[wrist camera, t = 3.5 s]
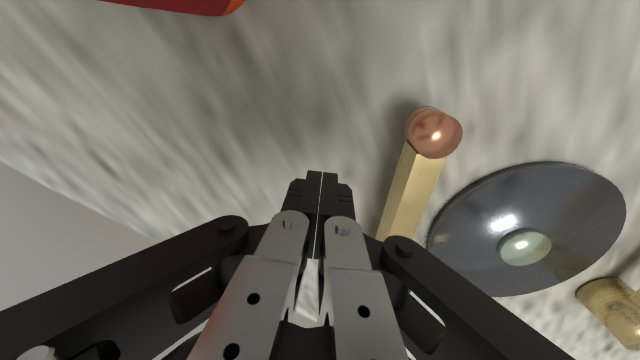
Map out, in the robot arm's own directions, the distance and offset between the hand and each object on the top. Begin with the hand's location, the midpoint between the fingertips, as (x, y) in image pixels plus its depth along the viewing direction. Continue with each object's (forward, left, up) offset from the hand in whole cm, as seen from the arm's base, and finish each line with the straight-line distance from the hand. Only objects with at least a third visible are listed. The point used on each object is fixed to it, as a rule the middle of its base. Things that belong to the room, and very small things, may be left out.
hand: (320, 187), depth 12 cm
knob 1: (+6, +6, -8) cm, 12 cm away
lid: (+8, +19, -8) cm, 22 cm away
